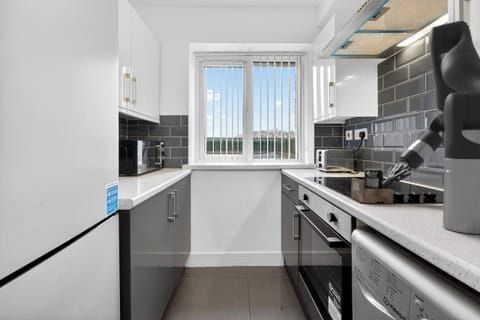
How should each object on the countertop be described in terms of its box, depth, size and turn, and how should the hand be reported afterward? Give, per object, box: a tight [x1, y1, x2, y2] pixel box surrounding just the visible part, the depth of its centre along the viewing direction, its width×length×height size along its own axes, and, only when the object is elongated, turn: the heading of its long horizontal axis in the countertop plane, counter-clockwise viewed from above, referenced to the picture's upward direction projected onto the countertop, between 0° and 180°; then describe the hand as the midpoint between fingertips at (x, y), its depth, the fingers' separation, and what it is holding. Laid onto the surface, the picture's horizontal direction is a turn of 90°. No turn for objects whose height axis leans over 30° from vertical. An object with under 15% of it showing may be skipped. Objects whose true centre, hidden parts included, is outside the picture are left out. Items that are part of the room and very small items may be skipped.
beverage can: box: [363, 167, 384, 189], centre depth 116 cm, size 7×7×12 cm
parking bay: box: [350, 177, 394, 204], centre depth 116 cm, size 11×12×8 cm
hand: (382, 187), depth 117 cm, fingers closed
